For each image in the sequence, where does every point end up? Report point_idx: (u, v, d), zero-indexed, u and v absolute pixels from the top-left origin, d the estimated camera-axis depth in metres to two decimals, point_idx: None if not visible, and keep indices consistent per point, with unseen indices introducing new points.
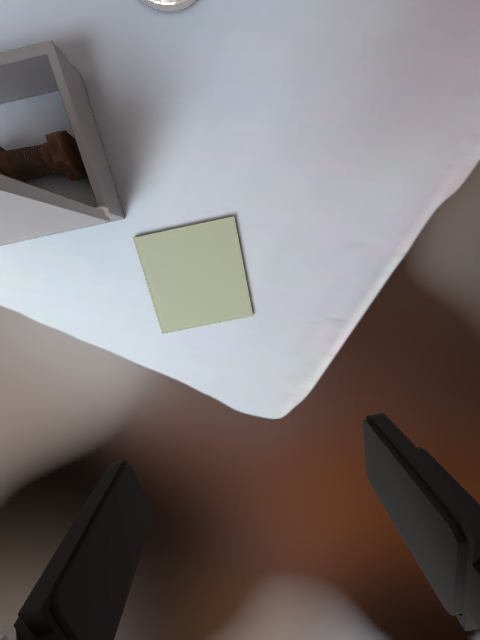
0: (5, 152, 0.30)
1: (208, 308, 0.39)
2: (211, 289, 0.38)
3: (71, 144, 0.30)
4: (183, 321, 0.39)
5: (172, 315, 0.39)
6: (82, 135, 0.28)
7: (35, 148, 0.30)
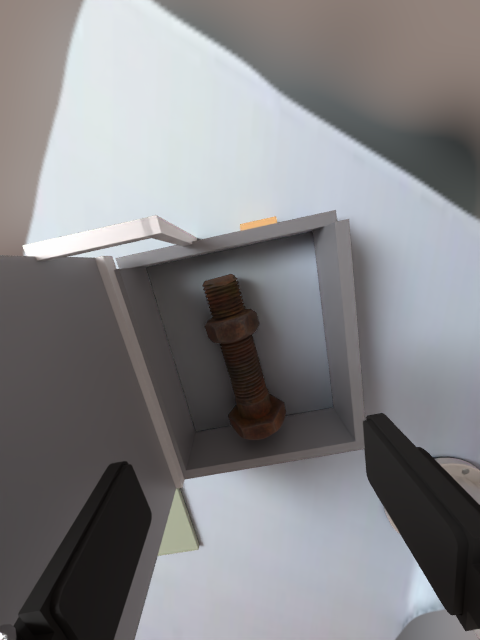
0: (249, 346, 0.21)
1: None
2: None
3: None
4: None
5: None
6: (269, 463, 0.21)
7: (258, 388, 0.21)
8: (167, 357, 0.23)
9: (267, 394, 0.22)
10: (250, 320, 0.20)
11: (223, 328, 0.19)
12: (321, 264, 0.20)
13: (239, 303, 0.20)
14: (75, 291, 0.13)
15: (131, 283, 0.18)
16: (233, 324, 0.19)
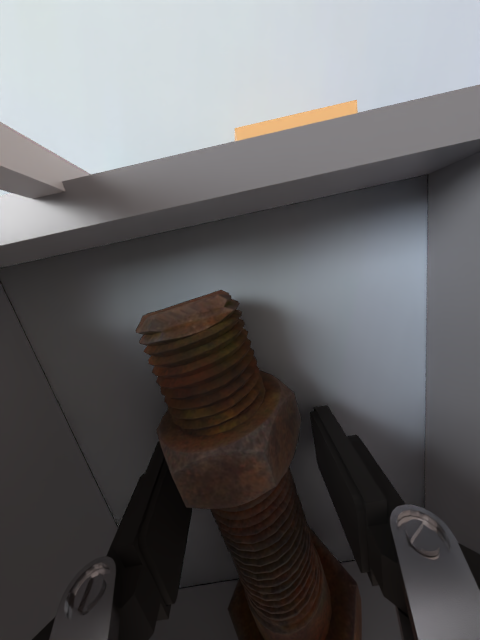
0: (278, 490, 0.07)
1: None
2: None
3: None
4: None
5: None
6: None
7: (304, 584, 0.08)
8: (63, 485, 0.09)
9: (322, 582, 0.09)
10: (282, 429, 0.07)
11: (198, 473, 0.06)
12: (459, 263, 0.07)
13: (247, 379, 0.07)
14: None
15: None
16: (231, 462, 0.06)
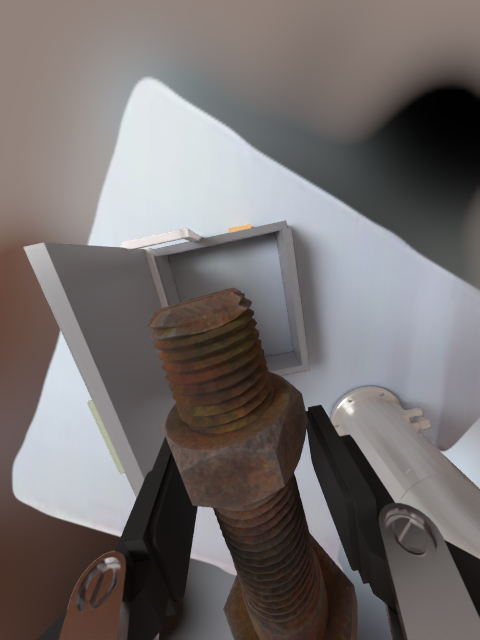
0: (283, 491, 0.07)
1: None
2: None
3: None
4: None
5: None
6: None
7: (303, 586, 0.08)
8: None
9: (320, 584, 0.09)
10: (290, 430, 0.07)
11: (207, 471, 0.06)
12: (280, 253, 0.32)
13: (258, 378, 0.07)
14: (139, 267, 0.25)
15: (162, 265, 0.30)
16: (241, 460, 0.06)
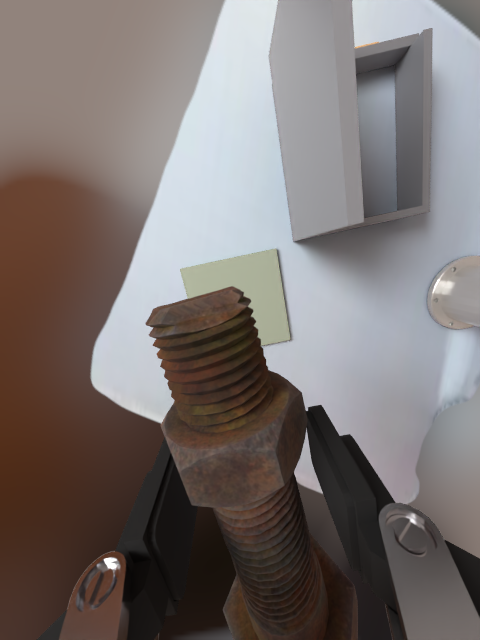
0: (283, 490, 0.07)
1: None
2: None
3: None
4: (194, 291, 0.38)
5: (200, 281, 0.38)
6: (363, 225, 0.32)
7: (303, 586, 0.08)
8: None
9: (321, 584, 0.09)
10: (290, 429, 0.07)
11: (206, 470, 0.06)
12: (401, 84, 0.31)
13: (257, 377, 0.07)
14: None
15: None
16: (240, 460, 0.06)
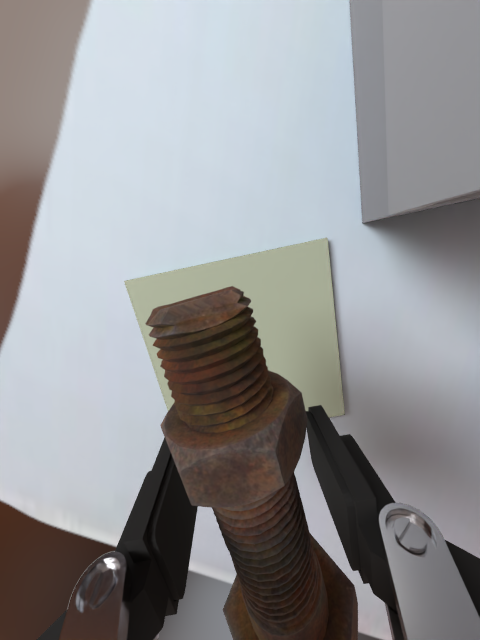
0: (283, 491, 0.07)
1: None
2: None
3: None
4: None
5: None
6: None
7: (303, 586, 0.08)
8: None
9: (321, 584, 0.09)
10: (290, 429, 0.07)
11: (206, 470, 0.06)
12: None
13: (257, 377, 0.07)
14: None
15: None
16: (240, 460, 0.06)
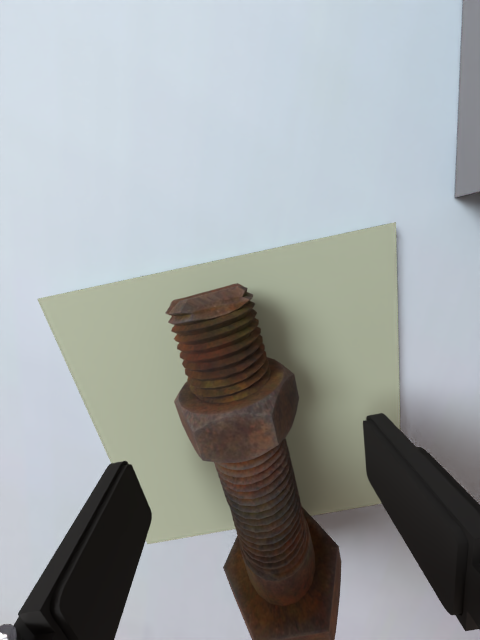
0: (277, 455, 0.09)
1: (156, 446, 0.12)
2: None
3: None
4: (101, 374, 0.11)
5: (118, 341, 0.11)
6: None
7: (293, 539, 0.10)
8: None
9: (308, 541, 0.10)
10: (284, 402, 0.08)
11: (215, 431, 0.07)
12: None
13: (257, 359, 0.08)
14: None
15: None
16: (243, 422, 0.07)
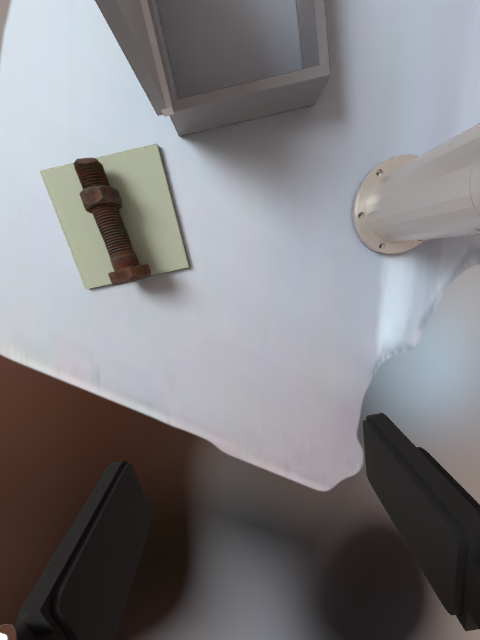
0: (111, 213, 0.29)
1: (85, 236, 0.32)
2: None
3: (139, 278, 0.31)
4: (62, 202, 0.31)
5: (68, 188, 0.31)
6: (246, 94, 0.25)
7: (122, 247, 0.30)
8: (157, 14, 0.26)
9: (132, 254, 0.30)
10: (108, 191, 0.28)
11: (85, 193, 0.27)
12: None
13: (100, 179, 0.28)
14: None
15: None
16: (92, 190, 0.27)
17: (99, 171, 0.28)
